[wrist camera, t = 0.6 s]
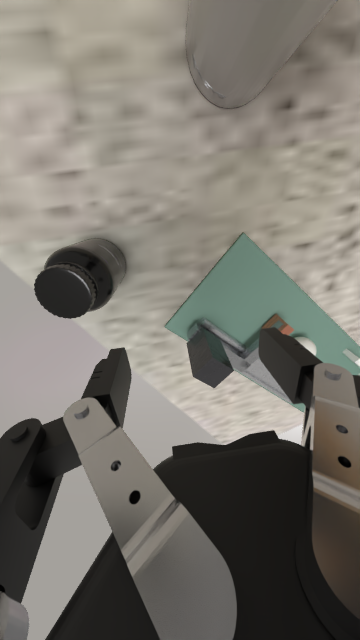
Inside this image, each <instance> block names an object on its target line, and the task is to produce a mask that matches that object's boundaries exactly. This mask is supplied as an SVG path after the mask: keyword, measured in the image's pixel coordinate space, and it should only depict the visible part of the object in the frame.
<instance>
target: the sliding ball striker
mask: <svg viewBox="0 0 360 640" xmlns="http://www.w3.org/2000/svg"><path fill="white" fill-rule="evenodd" d="M271 327H275V328H277V329H278V330H279V331H280V332H281V333H282V334H286V335H289V334H290V333H292V332H293V331H294V329H293V328H292V327H291V326H290V325H288V324H287V323H286V322H285V321H284V320H283V319H282V318H281V317H279V316H278V315H277V314H275V315H274V316H273V317H272V318H271V319H270V320H269V321H268V322H267V323H266V324H265V325H264V326H263V327H262V329H264V328H271ZM187 335H188V339H189V342H188V343H187V348H188V353H189V358H190V364H191V369H192V374H193V377H195V378H196V379H198V380H200V381H202V382H204V383H206V384H208V385H209V386H211V387H213V388H215V387H216V386H217V385H218V384H219V383H221V382H222V381H223V380H224V379H225V378H226V377H227V376H228V375H229V374H231V373H232V372H233V371H234V369H233V368H235V369H237V370H238V371H240V372H242V373H243V372H244V371H245V370H246V369H247V368H249V367H250V366H251V364H252V363H254V362H255V361H256V360H257V359H258V358H259V353H258V349H259V338H258V339H257V340H256V341H255V342H254V343H253V344H252V345H251V346H250V347H249V348H248V349H247V350H245V351H244V352H243V353H240V352H239V351H237V350H236V349H234V348H233V347H231V346H230V345H228V344H227V343H225V342H224V341H222V340H221V339H219V338H218V337H216V336H215V335H213V334H212V333H210V332H209V331H207V330H206V329H204V328H203V327H201V326H200V325H198V324H197V323H195V324H194V326H193V327H192V328H191V329H190V330H189V331H188V332H187Z"/></svg>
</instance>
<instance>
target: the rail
mask: <svg viewBox="0 0 360 640" xmlns="http://www.w3.org/2000/svg"><path fill="white" fill-rule="evenodd" d="M198 325H200V326H201V327H203V328H204V329H206V330H207V331H209V332H210V333H212V334H213V335H215V336H216V337H218V338H219V339H221V340H222V341H224V342H225V343H227V344H228V345H230V346H231V347H233V348H234V349H236V350H237V351H239V352H240V353H243V352H244V351H245V350H247V349H248V347H246V346H245V345H243V344H242V343H240V342H239V341H238V340H236V339H235V338H233V337H232V336H230V335H229V334H227V333H226V332H225V331H223V330H222V329H220V328H219V327H217V326H216V325H214V324H213V323H212V322H210V321H209V320H207V319H206V318H204V317H203V318H202V319H201V320H200V322H199V323H198ZM187 339H188V335H187ZM188 341H189V339H188ZM233 369H235V368H233ZM235 370H237V369H235ZM237 371H238V370H237ZM238 372H240V371H238ZM240 373H241V374H243V375H245V376H246V377H248V378H250V379H251V380H253V381H254V382H256V383H258V384H259V385H261V386H263V387H264V388H266V389H267V390H269V391H271V392H272V393H274V394H276V395H277V396H279V397H280V398H282V399H284V400H285V401H287V402H289V403H290V404H291V403H292V402H291V400H290V399H289V398H288V396H287V395H286V394H285V392H284V391H283V390H282V388H281V387H280V386H279V384H278V383H277V382H276V380H275V379H274V378H273V376H272V375H271V374H270V372H269V371H268V370H267V368H266V367H265V366H264V364H263V363H262V362H261V360H260V358H258V359H257V360H256V361H255V362H254V363H252V364H251V366H250V367H249V368H247V369H246V370H245V371H244V372H243V373H242V372H240Z"/></svg>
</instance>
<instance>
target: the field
mask: <svg viewBox="0 0 360 640" xmlns="http://www.w3.org/2000/svg"><path fill="white" fill-rule="evenodd" d="M275 314H277V315H278V316H279V317H281V318H282V319H283V320H284V321H285V322H286V323H287V324H288V325H290V326H291V327H292V328H293V329H294V331H293V332H292V333H290V334H289V335H288V336H291V337H293V338H296V337H305V338H308V339H310V340H311V341H312V342H313V343H314V344H315V346H316V349H317V352H316V355H315V356H316V357H317V358H318V359H320V360H321V361H322V362H323V363H331V364H335V365H338V366H341V367H343V368H345V369H346V370H348V371H349V372H350V373H351V374H352V375H358V374H360V368H359V367H358V366H357V365H356V364H355V363H354V362H352V361H351V360H350V359H349V358H348V357H347V356H346V355H345V354H344V353H342V352H343V351H344V350H345V349H348V350H349V351H351V352H352V353H353V354H355V355H356V356H357V357H359V358H360V347H359V346H358V345H357V344H356V343H355V342H354V341H353V340H352V339H351V338H350V337H349V336H348V335H347V334H346V333H345V332H344V331H343V330H342V329H341V328H340V327H339V326H338V325H337V324H336V323H335V322H334V321H333V320H332V319H331V318H330V317H329V316H328V315H327V314H326V313H325V312H324V311H323V310H322V309H321V308H320V307H319V306H318V305H317V304H316V303H315V302H314V301H313V300H312V299H311V298H310V297H309V296H308V295H307V294H306V293H305V292H303V291H302V290H301V289H300V288H299V287H298V286H297V285H296V284H295V283H294V282H293V281H292V280H291V279H290V278H289V277H288V276H287V275H286V274H285V273H284V272H283V271H282V270H281V269H280V268H279V267H278V266H277V265H276V264H275V263H274V262H273V261H272V260H271V259H270V258H269V257H268V256H267V255H266V254H265V253H264V252H263V251H262V250H261V249H260V248H259V247H258V246H257V245H256V244H255V243H254V242H253V241H252V240H251V239H250V238H249V237H247V236H246V235H245V234H244V233H242V234H241V235H240V237H239V238H238V239H237V240H236V241H235V242H234V244H233V245H232V246H231V247H230V248H229V250H228V251H227V252H226V253H225V254H224V256H223V257H222V258H221V259H220V260H219V262H218V263H217V264H216V265H215V266H214V268H213V269H212V270H211V271H210V272H209V274H208V275H207V276H206V277H205V278H204V280H203V281H202V282H201V283H200V284H199V286H198V287H197V288H196V289H195V290H194V292H193V293H192V294H191V295H190V296H189V298H188V299H187V300H186V301H185V302H184V304H183V305H182V306H181V307H180V308H179V310H178V311H177V312H176V313H175V314H174V316H173V317H172V318H171V319H170V320H169V321H168V323H167V324H166V325H165V328H167V329H168V330H170V331H172V332H173V333H175V334H177V335H178V336H180V337H181V338H183V339H185V340H186V341H188V339H187V332H188V331H189V330H190V329H191V328H192V327H193V326H194V324H195V323H197V324H198V323H199V322H200V320H201V319H202V318H203V317H204V318H206V319H207V320H209V321H210V322H212V323H213V324H214V325H216V326H217V327H219V328H220V329H222V330H223V331H225V332H226V333H227V334H229V335H230V336H232V337H233V338H235V339H236V340H238V341H239V342H240V343H242V344H243V345H245V346H246V347H248V348H249V347H250V346H251V345H252V344H253V343H254V342H255V341H256V340H257V339H258V338H259V337H260V330H261V329H262V327H263V326H264V325H265V324H266V323H267V322H268V321H269V320H270V319H271V318H272V317H273V316H274V315H275ZM188 342H189V341H188ZM234 370H235V369H234ZM235 371H237V370H235ZM237 372H238V371H237ZM238 373H240V372H238ZM240 374H241V373H240ZM242 375H243V374H242ZM243 376H245V375H243ZM245 377H246V376H245ZM247 378H248V377H247ZM248 379H250V378H248ZM250 380H251V379H250ZM251 381H253V380H251ZM253 382H254V381H253ZM255 383H256V382H255ZM256 384H258V383H256ZM258 385H259V384H258ZM260 386H261V385H260ZM261 387H263V386H261ZM263 388H264V387H263ZM265 389H266V388H265ZM266 390H267V389H266ZM268 391H269V390H268ZM269 392H271V391H269ZM271 393H272V392H271ZM273 394H274V393H273ZM274 395H276V394H274ZM276 396H277V395H276ZM278 397H279V396H278ZM279 398H280V397H279ZM281 399H282V398H281ZM282 400H284V399H282ZM284 401H285V400H284ZM286 402H287V401H286ZM287 403H289V402H287ZM289 404H290V403H289ZM291 405H292V406H294V407H295V408H297V409H299V410H300V411H302V412H304V410H305V405H304V404H303V403H300V404H293V403H291Z"/></svg>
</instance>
